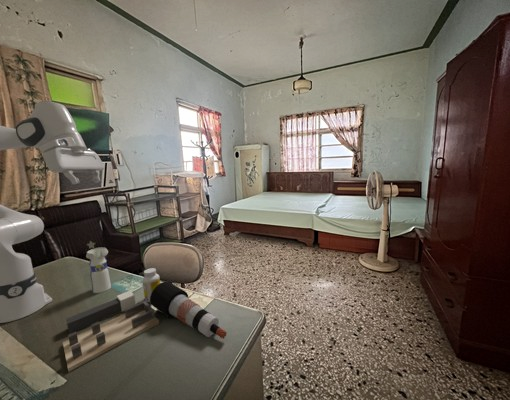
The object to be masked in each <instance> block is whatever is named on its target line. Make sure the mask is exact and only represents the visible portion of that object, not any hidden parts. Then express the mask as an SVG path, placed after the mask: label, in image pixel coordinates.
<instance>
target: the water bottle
mask: <svg viewBox="0 0 510 400" xmlns="http://www.w3.org/2000/svg"><path fill="white" fill-rule="evenodd" d="M95 244H96V242H92V241H91V240H90V241H89V243H87V244H86V246H88V249H90V250H88V251H87V252H86V255H85V257H86V259H89V263H88V266H89V267H90V274H89V276H90V280H91V281H90V282H91V292H92V293H94V294H100V293H103V292H106V291H108V290H110V289H111V288H112V287H111V286H112V281H111V276H110V270H109V267H108V264H107V261H108V259H107V258H106V256H107V255H108V253H109V250H108V249H107V248H106V247H105V246H104V247H101V246H100V247H96V248H95V246H94V245H95Z"/></svg>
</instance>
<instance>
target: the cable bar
mask: <svg viewBox="0 0 510 400" xmlns="http://www.w3.org/2000/svg"><path fill="white" fill-rule="evenodd" d="M135 305H137V304H136V298H135V294H134V293H133V292H132V291H131V290H128V291H126V292H122V293H120V294H118V295H116V298H115V299H112V300H109V301H107V302H105V303H101V304H100V305H97V306H95V307H94V306H93V308H92V307H91V308H89V309H87V310H85V311H82V312H80V313H77V314H75V315H72V316H69V317H68V318H67V317H66V326H67V330H68V335H69V334H72V333H74V332H76V333H77V332H78V331H80V330H82V329H84V328H87V327H89V326H91V325H92V324H94V323H96V322H100V321H103V320H105V319H107V318H110V317H111V316H114V315H116V314H118V313H120V312H125V310H126V309H128V308H130V307H132V306H135Z"/></svg>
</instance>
